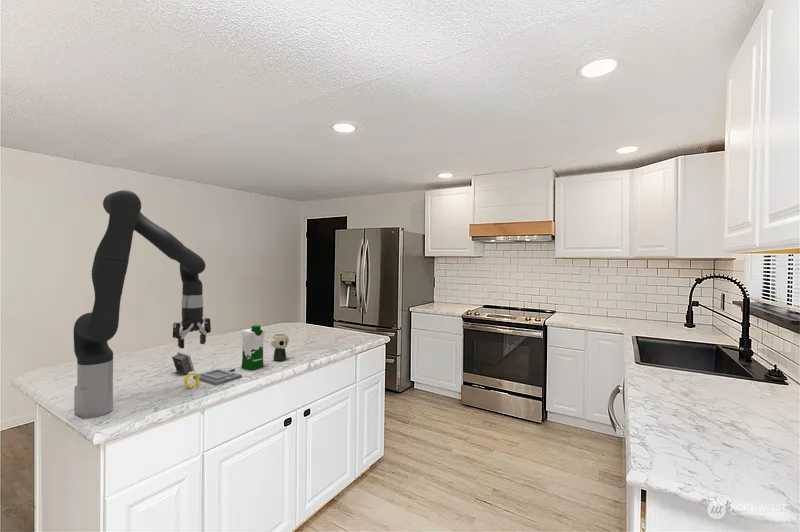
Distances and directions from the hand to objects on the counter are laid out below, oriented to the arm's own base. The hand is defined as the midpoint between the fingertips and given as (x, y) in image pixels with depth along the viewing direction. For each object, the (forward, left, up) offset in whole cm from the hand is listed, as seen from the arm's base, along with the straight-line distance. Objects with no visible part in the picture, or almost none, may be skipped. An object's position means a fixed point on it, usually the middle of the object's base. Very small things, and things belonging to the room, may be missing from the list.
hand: (192, 346), depth 148 cm
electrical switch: (+8, +19, -17) cm, 26 cm away
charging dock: (+14, +1, -16) cm, 22 cm away
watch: (0, 0, -17) cm, 17 cm away
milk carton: (+30, +1, -17) cm, 34 cm away
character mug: (+46, 0, -17) cm, 49 cm away
